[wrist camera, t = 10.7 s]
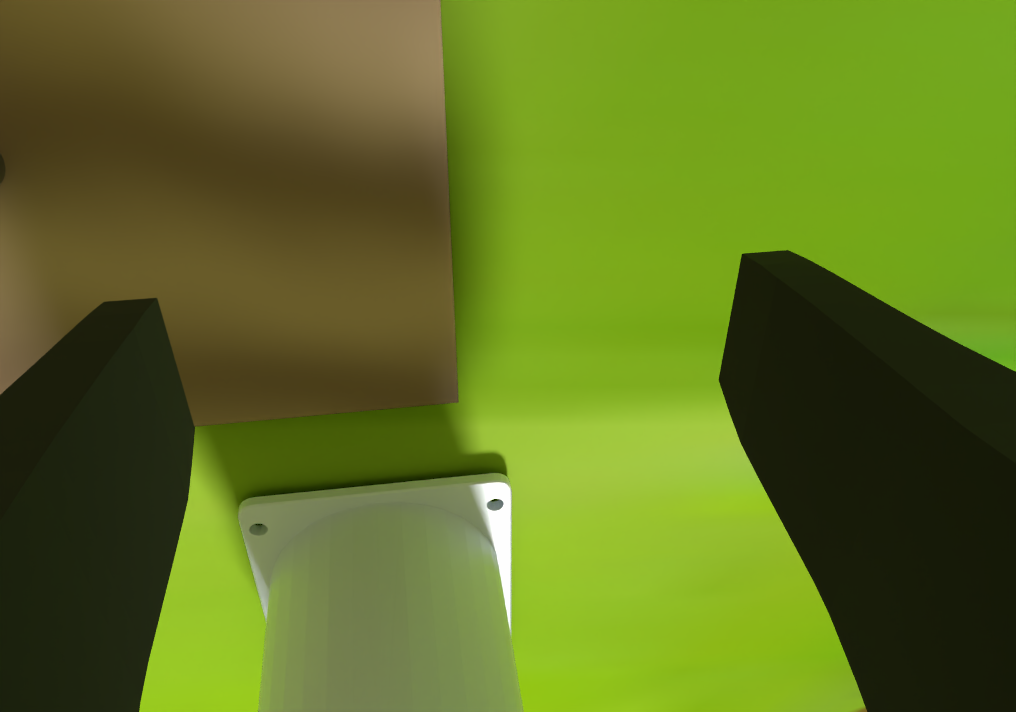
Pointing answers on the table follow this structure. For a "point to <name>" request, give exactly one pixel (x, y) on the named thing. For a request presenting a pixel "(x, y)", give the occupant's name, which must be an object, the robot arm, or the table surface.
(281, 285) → the stake board
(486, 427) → the table surface
